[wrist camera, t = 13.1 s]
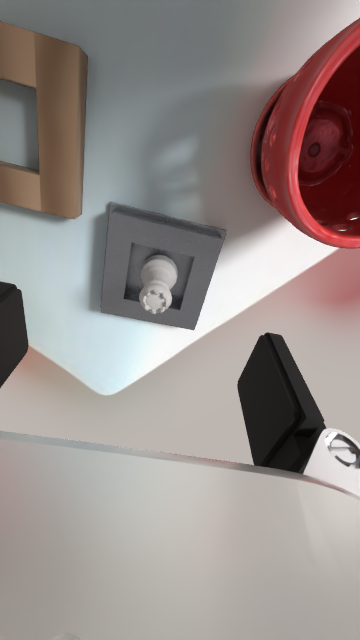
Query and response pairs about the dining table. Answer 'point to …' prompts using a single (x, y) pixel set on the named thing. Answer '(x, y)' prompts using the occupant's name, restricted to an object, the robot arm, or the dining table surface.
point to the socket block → (47, 121)
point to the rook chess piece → (157, 283)
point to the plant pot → (315, 144)
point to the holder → (149, 240)
